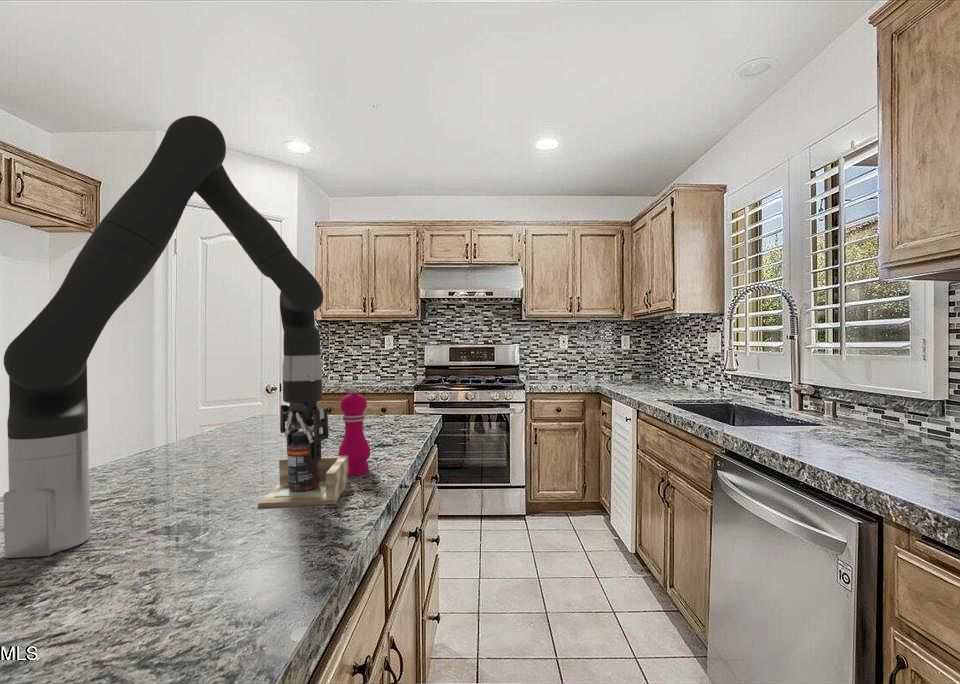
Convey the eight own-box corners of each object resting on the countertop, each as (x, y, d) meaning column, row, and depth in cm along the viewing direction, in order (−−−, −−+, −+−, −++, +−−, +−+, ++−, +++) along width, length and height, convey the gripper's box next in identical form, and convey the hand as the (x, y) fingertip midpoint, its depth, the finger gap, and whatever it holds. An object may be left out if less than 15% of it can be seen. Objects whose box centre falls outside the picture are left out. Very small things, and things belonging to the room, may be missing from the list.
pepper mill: (336, 470, 114) (334, 386, 114) (367, 466, 117) (365, 384, 117) (341, 478, 108) (339, 389, 108) (373, 473, 111) (372, 387, 111)
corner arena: (334, 503, 91) (334, 473, 91) (258, 507, 89) (257, 476, 89) (348, 482, 105) (348, 455, 105) (282, 485, 103) (281, 458, 103)
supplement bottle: (313, 481, 102) (312, 428, 102) (324, 488, 97) (323, 432, 97) (284, 487, 98) (283, 432, 98) (294, 494, 93) (292, 436, 93)
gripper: (267, 377, 99) (268, 456, 99) (304, 380, 90) (305, 467, 90) (301, 375, 105) (302, 449, 105) (339, 377, 96) (340, 459, 96)
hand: (303, 457), depth 97 cm, fingers open, 8 cm apart
